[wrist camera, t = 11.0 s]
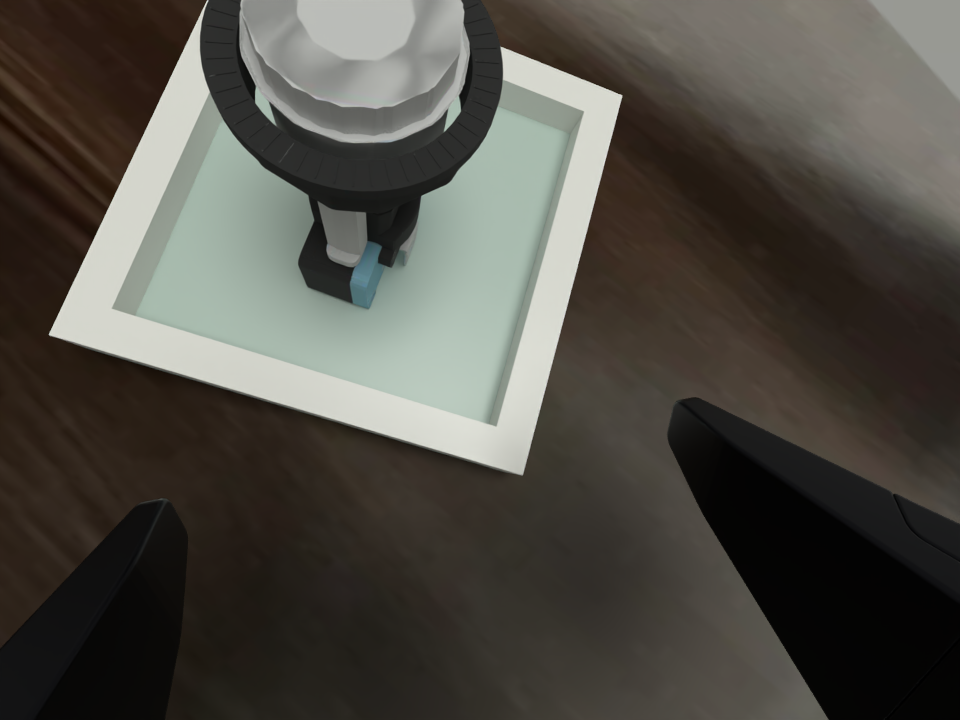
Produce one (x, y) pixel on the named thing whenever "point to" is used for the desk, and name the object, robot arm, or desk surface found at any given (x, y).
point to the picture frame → (400, 292)
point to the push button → (355, 114)
